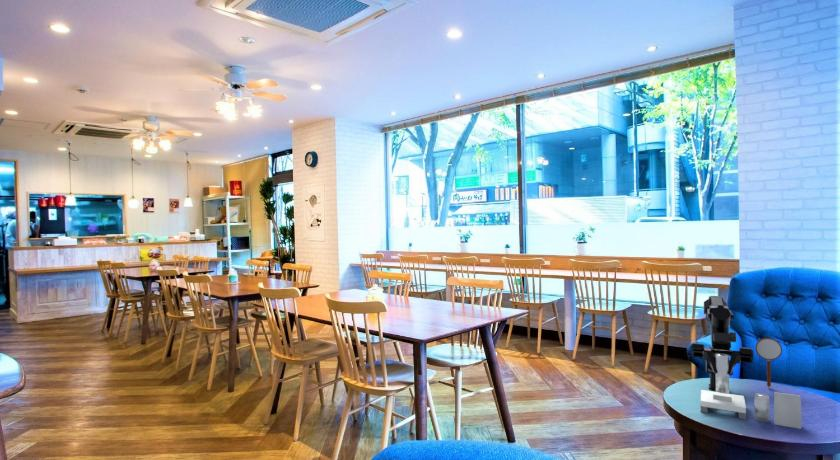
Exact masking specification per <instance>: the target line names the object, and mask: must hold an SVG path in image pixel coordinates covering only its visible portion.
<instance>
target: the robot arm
mask: <svg viewBox="0 0 840 460" xmlns="http://www.w3.org/2000/svg"><path fill="white" fill-rule="evenodd" d="M727 304H728V303H727V302H726V301H725V300H724V297H723V296H721V295H710V296H708V298H707V299H706V300H705V301H703V314H704V315H705V320H706V321H707V322H709V325H710V341H711V346H705V344H704V343H699V342H692V343H691V345H690V346H691V349H690V350H691V357H693V358H702V359H703V360H704V361H705V372H706V374H709V383H708V389H709V390H710V391H716V366H715V354H716V353H724V354H728V355H729V377H732V376H733V375H734V368H735V366H736V365H737V364H740V363H745V364H747V363H748V364H751V363H753V361H754V350H753V349H752V348H749V347H740V346H739V348H738V350H734V349H733V350H732V343H736V342H737V333H736V332H732V331H731V332H730V325H731V320H733V319H734V318H735V315H734V313H733V312H732V310H730V309H729V307H728V305H727Z"/></svg>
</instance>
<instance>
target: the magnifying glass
mask: <svg viewBox="0 0 840 460" xmlns="http://www.w3.org/2000/svg"><path fill="white" fill-rule="evenodd" d="M754 349H755V352H756V354H757V355H758V356H759V357H760V358H762V359H764V360H766V384H767V385H766V386H767V389H771V387H772V386H771V385H772V377H771V375H772V374H771V372H772V371H771V369H772V368H771V365H772V364H771V361H774V360H777V359H779V357H781V355H782V354H783V353H782V352H783V347H782V345H781V344H780V342H779V341H777V340H776V339H774V338H770V337H764V338H761V339H758V341H757V342H756V344H755V347H754Z"/></svg>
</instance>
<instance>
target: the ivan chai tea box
mask: <svg viewBox="0 0 840 460" xmlns="http://www.w3.org/2000/svg"><path fill="white" fill-rule="evenodd" d="M801 399H802V398H801V395H800V394H799V395H798V394H792V393H783V392H780V391H779V392H777V391H774V392H773V423H774V425H777V426H783V427H789V428H792V429H794V428H795V429H799V430H802V423H803V422H802V400H801Z"/></svg>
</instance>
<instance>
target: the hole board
mask: <svg viewBox="0 0 840 460" xmlns="http://www.w3.org/2000/svg"><path fill="white" fill-rule="evenodd" d="M708 408H709V409H716V410H717V409H718V410H723V411H724V410H725V411H729V412H734V413H735V412H736V413H737V415H738V419H741V420H747V406H746V401H745V396H744V395H739V394H733V393H720V392H717V391H714V390H705V389H701V390H700V413H708V411H709V410H708Z"/></svg>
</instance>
